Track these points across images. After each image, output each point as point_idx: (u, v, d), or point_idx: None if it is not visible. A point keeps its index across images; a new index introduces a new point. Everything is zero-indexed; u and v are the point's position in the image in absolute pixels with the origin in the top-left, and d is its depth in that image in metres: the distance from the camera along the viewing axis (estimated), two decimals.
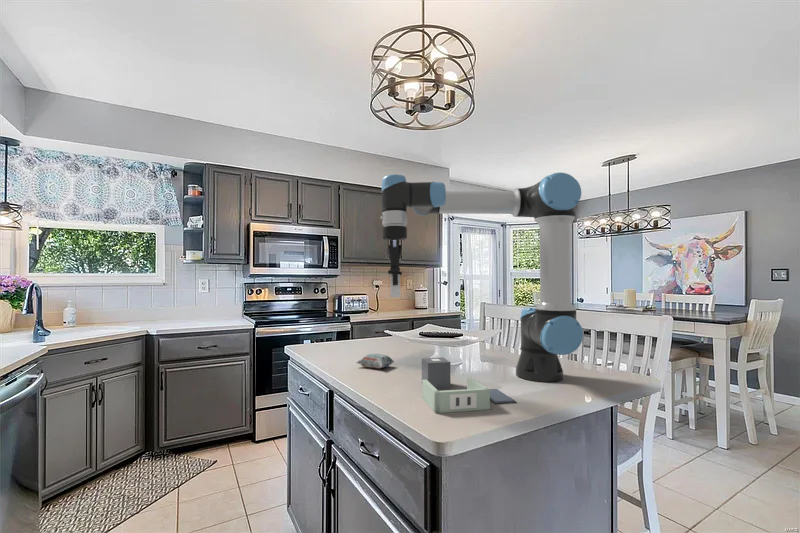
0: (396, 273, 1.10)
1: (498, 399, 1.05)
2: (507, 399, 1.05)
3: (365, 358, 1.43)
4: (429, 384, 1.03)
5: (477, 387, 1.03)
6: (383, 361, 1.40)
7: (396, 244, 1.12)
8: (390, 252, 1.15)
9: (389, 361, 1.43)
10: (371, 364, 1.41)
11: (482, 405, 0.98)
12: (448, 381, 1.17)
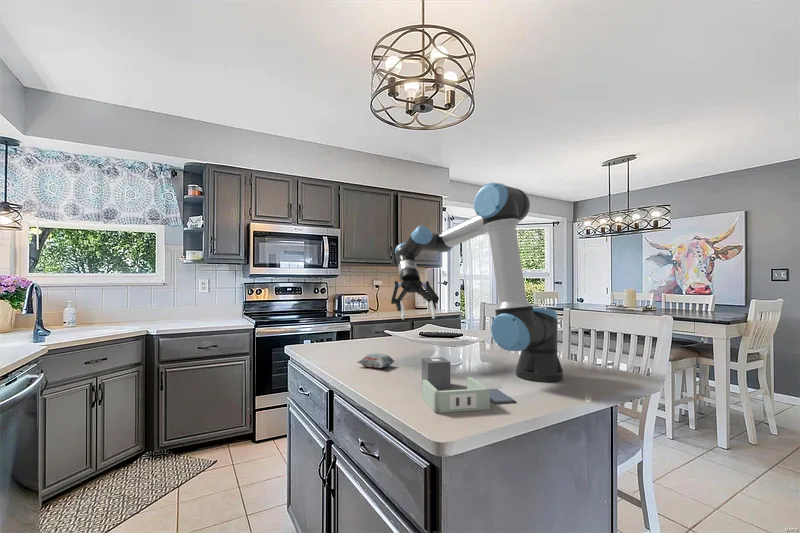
0: (396, 302, 1.43)
1: (498, 399, 1.05)
2: (507, 399, 1.05)
3: (366, 358, 1.43)
4: (429, 384, 1.03)
5: (477, 387, 1.03)
6: (384, 361, 1.40)
7: (394, 285, 1.49)
8: None
9: (390, 361, 1.44)
10: (372, 364, 1.41)
11: (482, 405, 0.98)
12: (448, 381, 1.17)
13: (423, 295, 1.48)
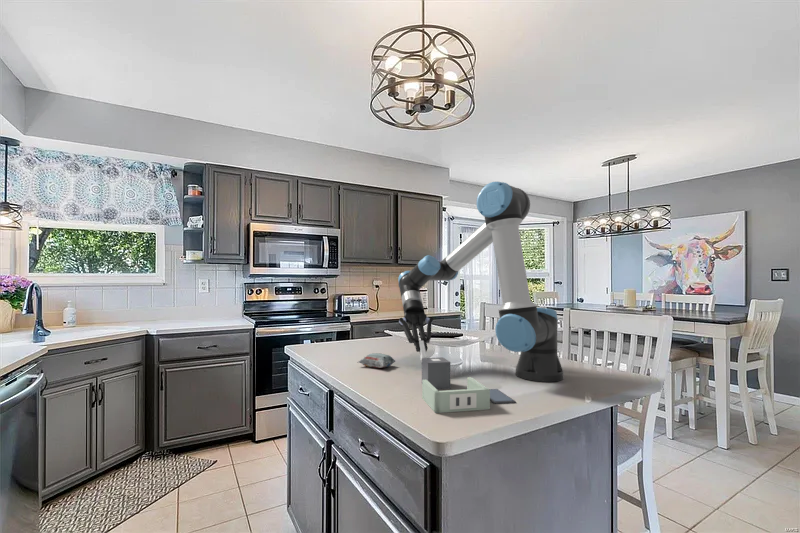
0: (414, 341, 1.34)
1: (498, 399, 1.05)
2: (506, 399, 1.05)
3: (367, 357, 1.44)
4: (429, 384, 1.03)
5: (477, 387, 1.03)
6: (384, 361, 1.41)
7: (401, 322, 1.39)
8: (411, 327, 1.41)
9: (390, 361, 1.44)
10: (372, 363, 1.42)
11: (482, 405, 0.98)
12: (448, 381, 1.17)
13: (419, 331, 1.39)
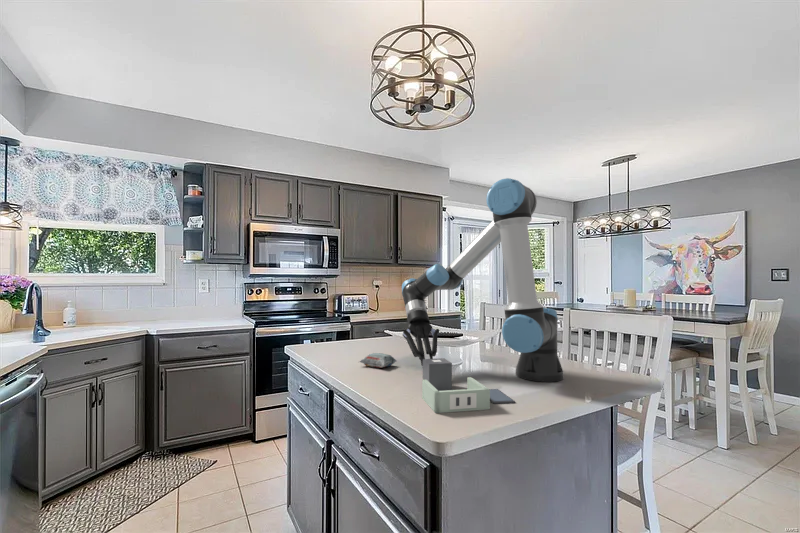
0: (419, 355, 1.26)
1: (497, 399, 1.05)
2: (506, 399, 1.05)
3: (368, 357, 1.44)
4: (429, 384, 1.03)
5: (477, 387, 1.03)
6: (385, 360, 1.41)
7: (405, 334, 1.31)
8: None
9: (391, 360, 1.45)
10: (373, 363, 1.42)
11: (482, 405, 0.98)
12: (449, 382, 1.15)
13: (425, 343, 1.30)
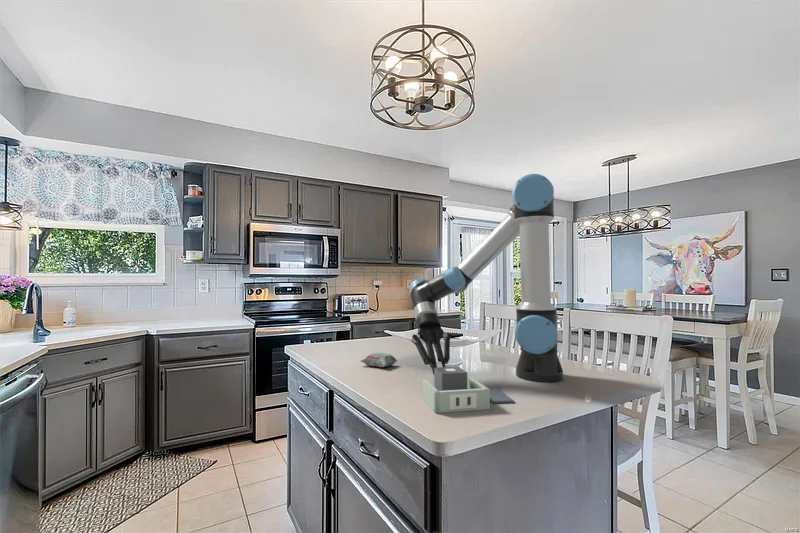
0: (431, 363, 1.15)
1: (497, 399, 1.05)
2: (506, 399, 1.05)
3: (369, 357, 1.45)
4: (429, 384, 1.03)
5: (477, 387, 1.03)
6: (386, 360, 1.42)
7: (414, 340, 1.20)
8: (426, 345, 1.21)
9: (392, 360, 1.45)
10: (374, 363, 1.43)
11: (482, 405, 0.98)
12: None
13: (436, 350, 1.19)
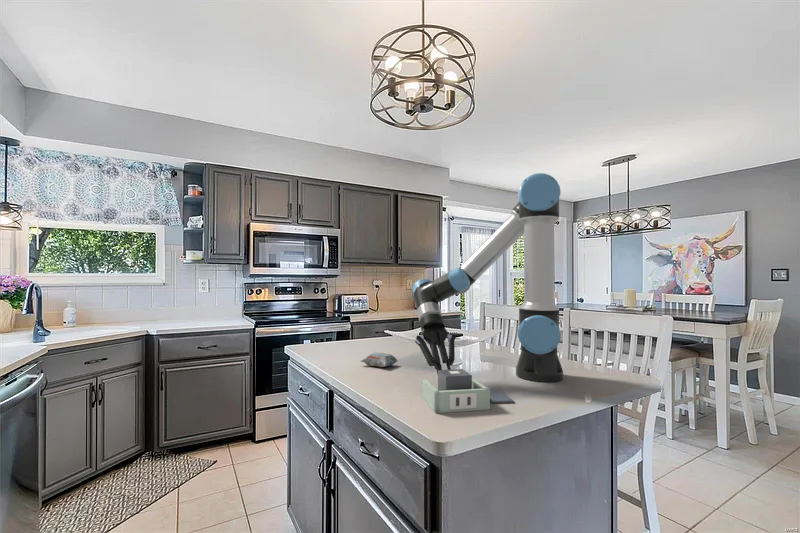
0: (435, 364, 1.12)
1: (497, 399, 1.05)
2: (506, 399, 1.05)
3: (369, 357, 1.45)
4: (429, 384, 1.03)
5: (477, 387, 1.03)
6: (387, 360, 1.42)
7: (418, 341, 1.17)
8: (430, 346, 1.19)
9: (393, 360, 1.45)
10: (375, 363, 1.43)
11: (482, 405, 0.98)
12: None
13: (441, 351, 1.17)
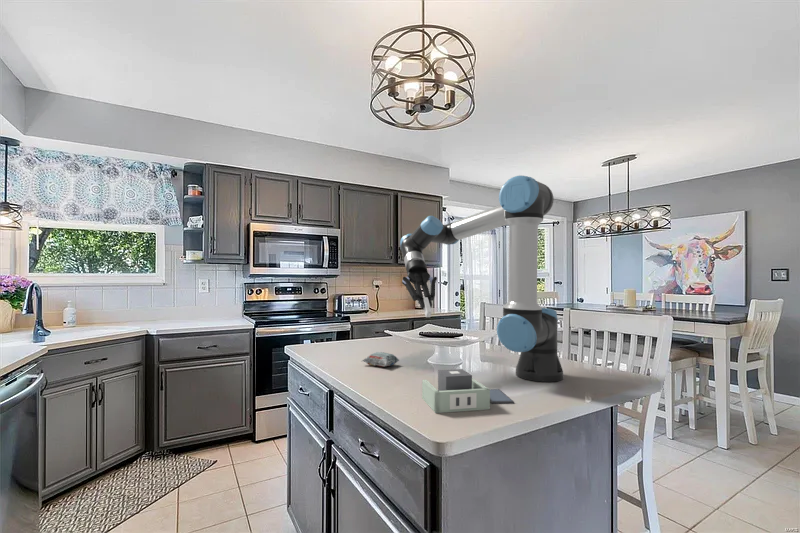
0: (419, 299, 1.32)
1: (496, 399, 1.05)
2: (505, 399, 1.05)
3: (370, 356, 1.46)
4: (429, 384, 1.03)
5: (477, 387, 1.03)
6: (388, 359, 1.43)
7: (404, 281, 1.38)
8: (414, 286, 1.39)
9: (394, 360, 1.46)
10: (376, 362, 1.44)
11: (482, 405, 0.98)
12: None
13: (423, 289, 1.37)
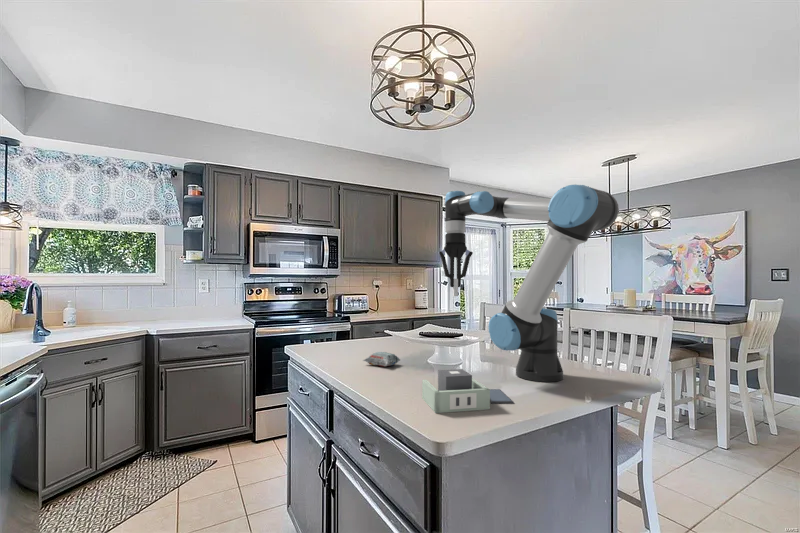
0: None
1: (496, 399, 1.05)
2: (505, 399, 1.05)
3: (372, 356, 1.46)
4: (429, 384, 1.03)
5: (477, 387, 1.03)
6: (389, 359, 1.43)
7: (440, 255, 1.45)
8: None
9: (395, 359, 1.47)
10: (377, 362, 1.44)
11: (482, 405, 0.98)
12: None
13: (457, 265, 1.46)
